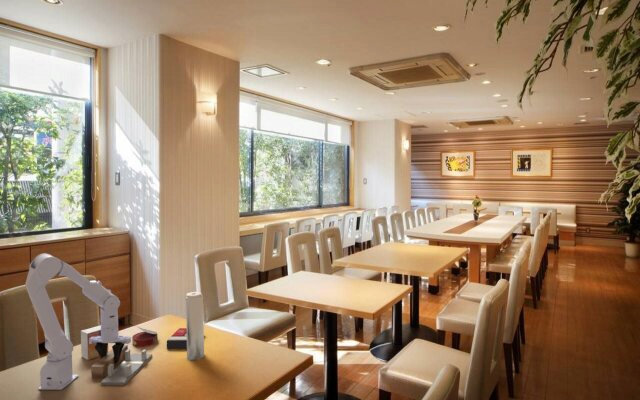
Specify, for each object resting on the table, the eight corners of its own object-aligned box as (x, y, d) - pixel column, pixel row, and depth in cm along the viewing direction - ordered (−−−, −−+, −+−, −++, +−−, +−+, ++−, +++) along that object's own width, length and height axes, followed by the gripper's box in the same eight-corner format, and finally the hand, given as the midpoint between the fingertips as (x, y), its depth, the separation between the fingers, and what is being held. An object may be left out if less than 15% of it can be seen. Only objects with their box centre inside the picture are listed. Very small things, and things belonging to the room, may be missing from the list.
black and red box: (203, 327, 182) (193, 338, 167) (203, 336, 182) (193, 349, 167) (178, 327, 182) (166, 339, 167) (178, 337, 182) (166, 349, 167)
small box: (87, 360, 157) (86, 333, 156) (81, 356, 160) (80, 330, 159) (109, 353, 163) (108, 327, 162) (102, 349, 166) (101, 324, 166)
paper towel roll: (199, 361, 156) (197, 296, 154) (183, 359, 157) (182, 295, 156) (207, 354, 162) (206, 291, 161) (192, 352, 164) (190, 290, 162)
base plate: (124, 385, 138) (123, 372, 138) (100, 385, 138) (100, 372, 138) (152, 356, 160) (151, 345, 160) (131, 356, 160) (131, 345, 160)
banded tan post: (103, 377, 143) (102, 366, 143) (91, 377, 143) (91, 366, 143) (128, 355, 161) (127, 345, 161) (117, 355, 161) (117, 345, 161)
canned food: (136, 350, 177) (137, 326, 181) (160, 347, 178) (161, 323, 182) (126, 348, 166) (127, 323, 170) (152, 344, 167) (152, 319, 171)
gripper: (134, 322, 155) (135, 357, 156) (96, 322, 156) (97, 357, 156) (125, 329, 148) (126, 366, 149) (85, 329, 149) (86, 365, 149)
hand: (110, 362), depth 152 cm, fingers closed on banded tan post, 4 cm apart
